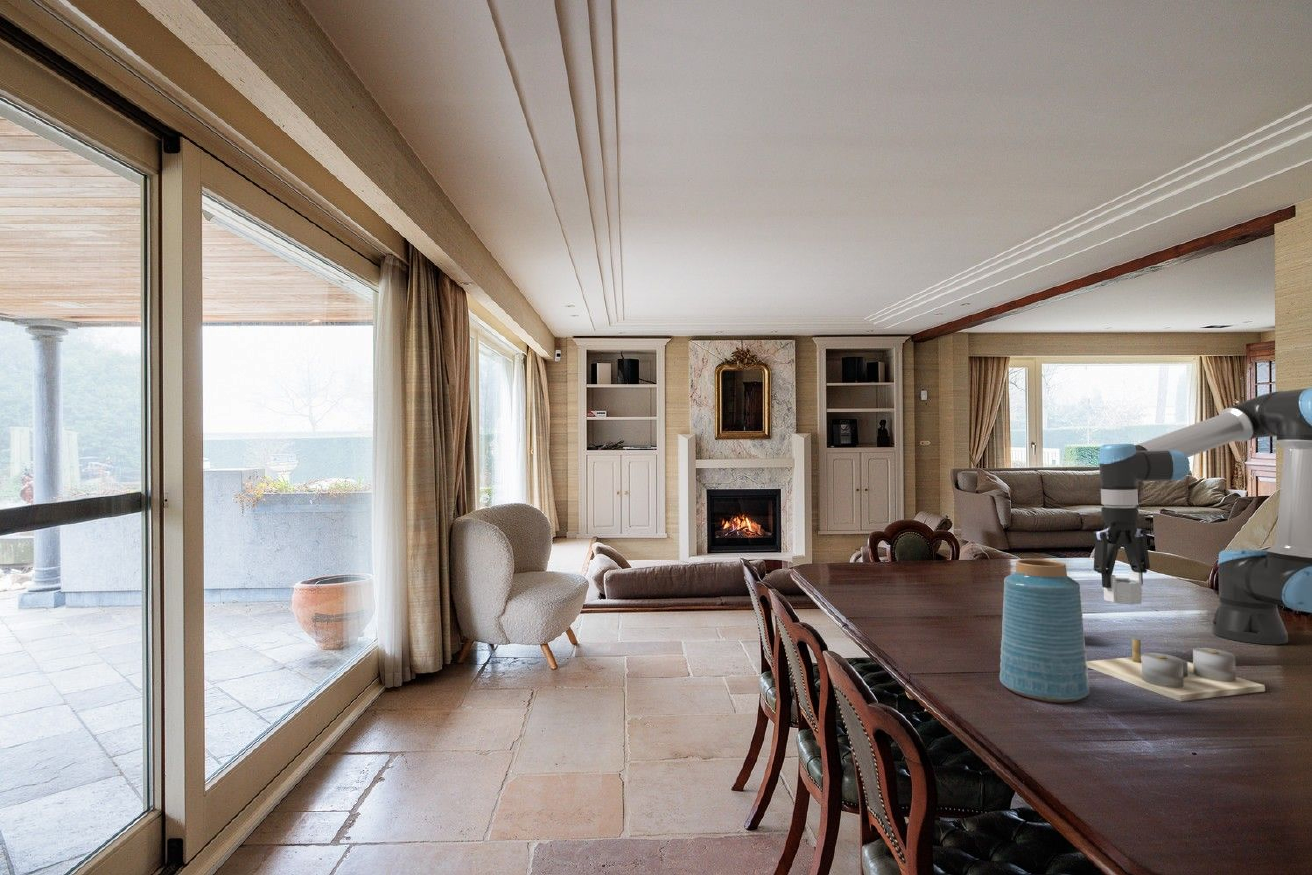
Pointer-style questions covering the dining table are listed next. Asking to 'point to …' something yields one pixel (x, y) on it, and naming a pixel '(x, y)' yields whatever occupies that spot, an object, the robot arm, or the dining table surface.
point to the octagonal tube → (1128, 591)
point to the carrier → (1179, 673)
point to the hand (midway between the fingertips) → (1123, 599)
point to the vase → (1043, 633)
